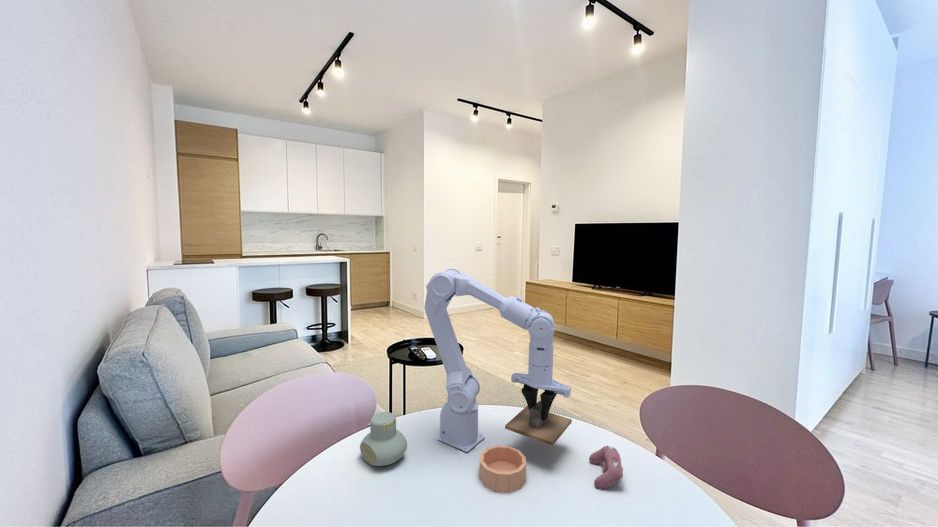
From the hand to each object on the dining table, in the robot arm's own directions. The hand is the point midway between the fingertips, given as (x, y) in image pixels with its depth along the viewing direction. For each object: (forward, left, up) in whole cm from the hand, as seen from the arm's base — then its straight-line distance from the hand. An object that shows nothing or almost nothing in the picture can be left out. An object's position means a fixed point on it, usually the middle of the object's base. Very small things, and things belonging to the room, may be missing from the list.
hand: (538, 417), depth 89 cm
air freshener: (-28, -24, -9) cm, 38 cm away
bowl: (-2, -13, -9) cm, 16 cm away
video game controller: (+16, +1, -9) cm, 18 cm away
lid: (0, 0, -2) cm, 2 cm away
